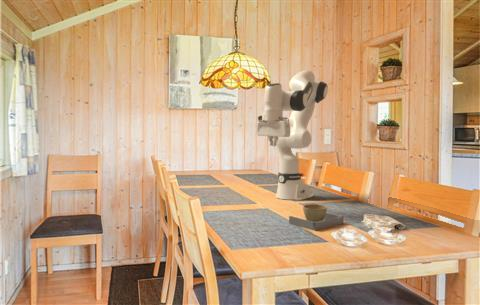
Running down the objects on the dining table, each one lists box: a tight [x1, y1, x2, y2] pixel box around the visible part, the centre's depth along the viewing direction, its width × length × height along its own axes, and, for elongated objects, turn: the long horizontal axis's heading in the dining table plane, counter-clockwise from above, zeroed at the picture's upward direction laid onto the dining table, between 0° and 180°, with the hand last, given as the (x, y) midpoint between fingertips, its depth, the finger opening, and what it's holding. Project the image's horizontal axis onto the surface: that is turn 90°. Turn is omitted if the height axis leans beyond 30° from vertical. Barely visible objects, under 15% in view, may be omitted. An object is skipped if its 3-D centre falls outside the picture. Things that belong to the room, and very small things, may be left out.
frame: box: [288, 212, 344, 231], centre depth 162 cm, size 18×14×3 cm
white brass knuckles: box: [360, 213, 406, 231], centre depth 158 cm, size 3×18×15 cm
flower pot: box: [302, 203, 328, 222], centre depth 162 cm, size 10×10×7 cm
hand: (273, 145), depth 186 cm, fingers closed
